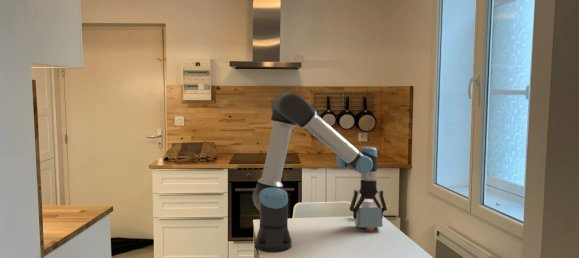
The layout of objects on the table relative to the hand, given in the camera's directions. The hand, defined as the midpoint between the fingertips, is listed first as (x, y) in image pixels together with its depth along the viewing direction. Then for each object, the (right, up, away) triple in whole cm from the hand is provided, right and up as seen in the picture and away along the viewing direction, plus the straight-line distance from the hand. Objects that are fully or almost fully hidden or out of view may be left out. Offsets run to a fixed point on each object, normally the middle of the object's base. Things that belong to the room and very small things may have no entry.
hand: (367, 225), depth 197 cm
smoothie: (+3, -1, +16) cm, 17 cm away
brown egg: (0, +1, -3) cm, 4 cm away
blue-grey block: (0, 0, -2) cm, 2 cm away
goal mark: (0, -1, 0) cm, 2 cm away
